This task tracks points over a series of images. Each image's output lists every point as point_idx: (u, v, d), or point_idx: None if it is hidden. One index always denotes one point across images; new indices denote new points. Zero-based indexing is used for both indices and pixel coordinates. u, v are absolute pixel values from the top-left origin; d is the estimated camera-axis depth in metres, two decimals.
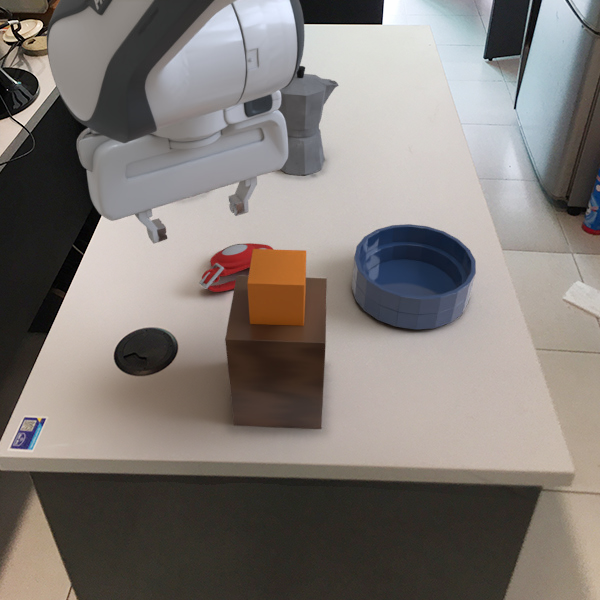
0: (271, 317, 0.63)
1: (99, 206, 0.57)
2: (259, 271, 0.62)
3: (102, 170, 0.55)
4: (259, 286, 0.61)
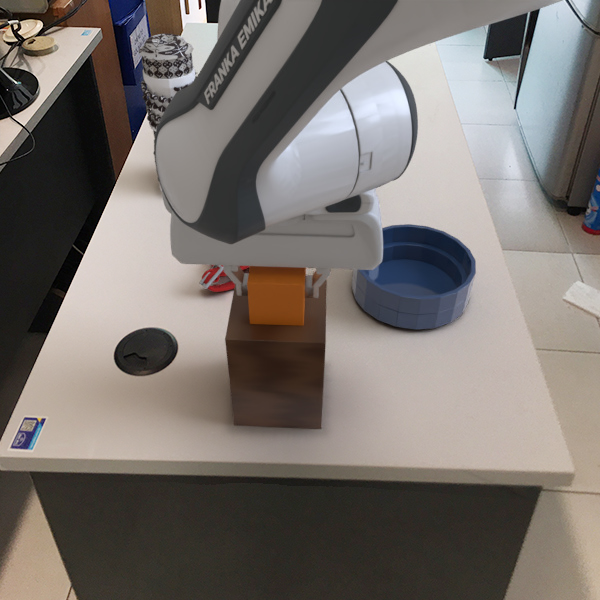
0: (271, 317, 0.63)
1: (171, 247, 0.60)
2: (259, 271, 0.62)
3: (175, 218, 0.57)
4: (259, 285, 0.61)
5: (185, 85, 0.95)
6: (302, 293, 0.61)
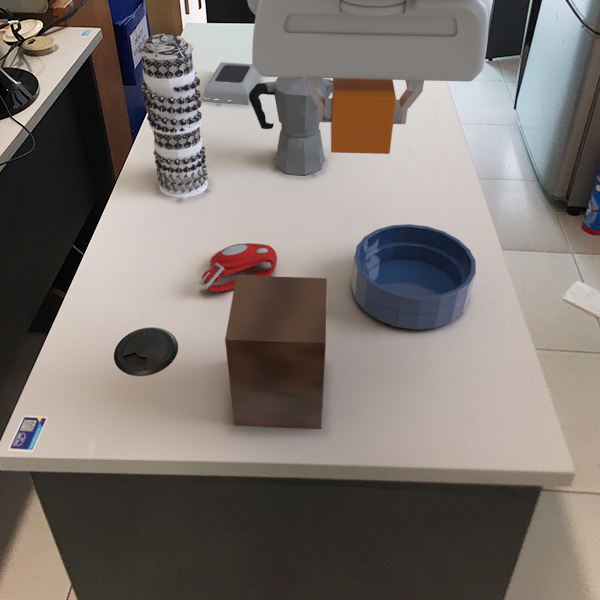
0: (356, 143, 0.58)
1: (252, 55, 0.54)
2: (344, 88, 0.57)
3: (261, 13, 0.52)
4: (346, 100, 0.56)
5: (185, 85, 0.95)
6: (393, 109, 0.56)
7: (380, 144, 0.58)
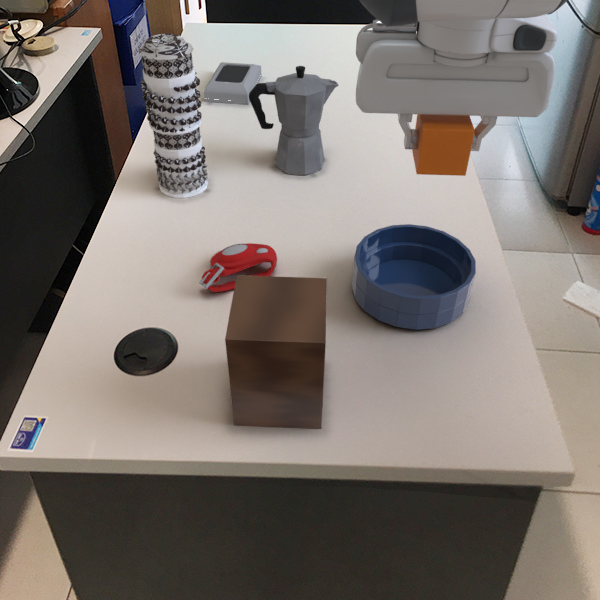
0: (438, 166, 0.70)
1: (357, 95, 0.66)
2: (430, 121, 0.68)
3: (369, 63, 0.64)
4: (433, 132, 0.67)
5: (185, 85, 0.95)
6: (471, 140, 0.68)
7: (458, 167, 0.70)
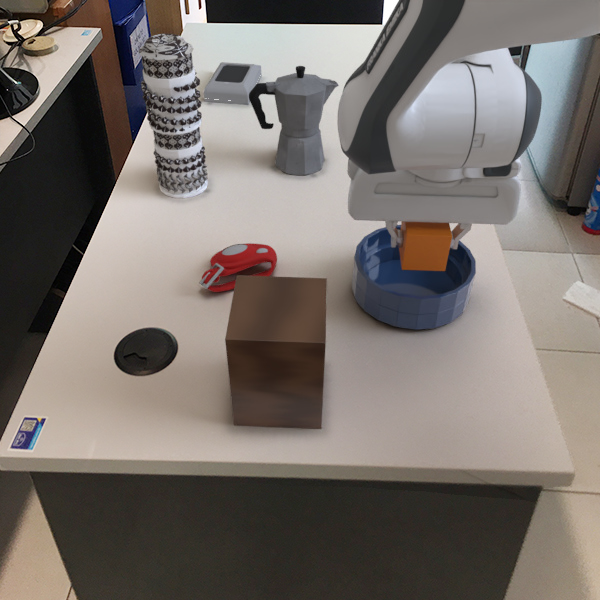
0: (420, 264, 0.79)
1: (349, 206, 0.76)
2: (413, 226, 0.78)
3: (358, 182, 0.73)
4: (416, 237, 0.77)
5: (185, 85, 0.95)
6: (449, 243, 0.77)
7: (438, 265, 0.79)
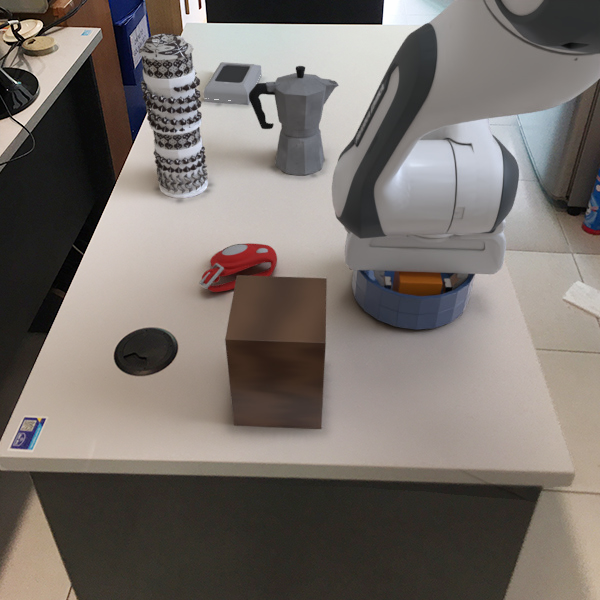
0: None
1: (345, 257, 0.81)
2: (406, 273, 0.83)
3: (354, 236, 0.78)
4: (408, 284, 0.82)
5: (185, 85, 0.95)
6: (440, 289, 0.82)
7: None
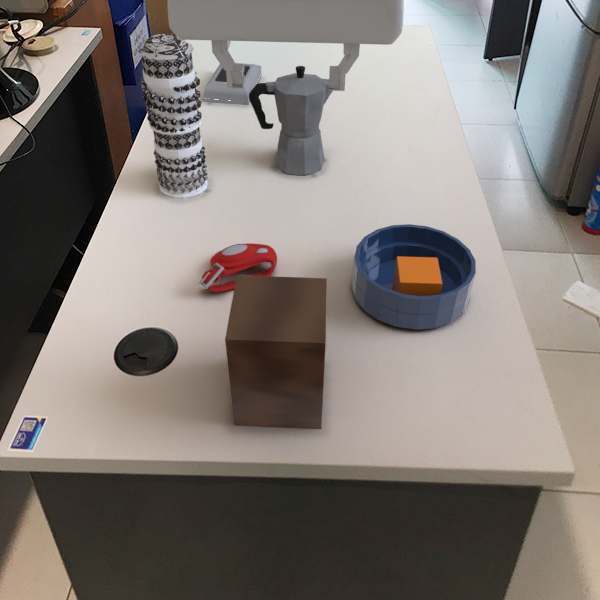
0: None
1: (168, 17, 0.54)
2: (406, 273, 0.83)
3: None
4: (408, 284, 0.82)
5: (185, 85, 0.95)
6: (440, 289, 0.82)
7: None
